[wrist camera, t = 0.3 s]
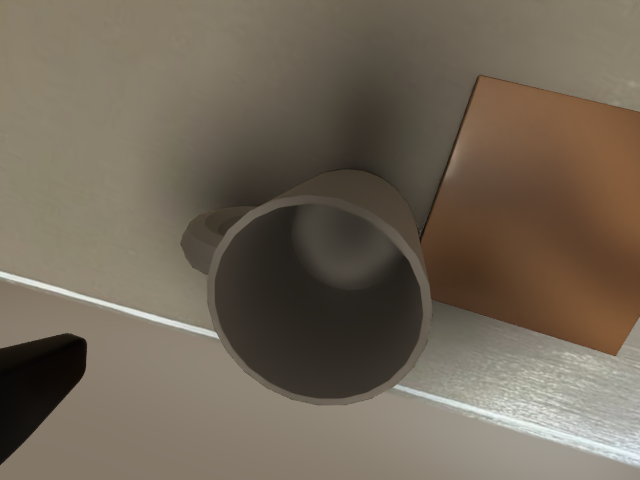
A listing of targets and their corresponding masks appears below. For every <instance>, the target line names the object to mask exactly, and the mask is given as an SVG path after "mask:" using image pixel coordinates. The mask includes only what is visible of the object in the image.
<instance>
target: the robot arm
mask: <svg viewBox="0 0 640 480" xmlns="http://www.w3.org/2000/svg"><path fill="white" fill-rule="evenodd" d="M86 355H87V343H86V340H85V339H84V338H81V337H78V336H75V335H73V334H69V333H65V334H61V335H56V336H52V337H48V338H44V339H40V340H35V341H31V342H27V343H22V344H19V345H14V346H10V347H5V348H1V349H0V465H1V464H2V463H3V462H4V461H5V460H6V459H7V458H8V457H9V456H10V455H11V454H12V453H13V452H15V451H16V449H18V448H19V446H21V445H22V443H24V442H25V440H26V439H27V438H28V437H29V436H30V435H31V434H32V433H33V432H34V431H35V430H36V429H37V428H38V426H39V425H40V424H41V423H42V422H43V421H44V420H45V419H46V417H48V415H49V414H50V413H51V412H52V411H53V410H54V409H55V408H56V407H57V405H58V404H59V403H60V402H61V401H62V400H63V399H64V398H65V397H66V395H67V394H68V393H69V392H70V391H71V390H72V389H73V388H74V387H75V386H76V384H77V383H78V382H79V381H80V380H81V378H82V376H83V375H84V372H85V369H86Z"/></svg>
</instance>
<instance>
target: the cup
mask: <svg viewBox="0 0 640 480" xmlns="http://www.w3.org/2000/svg"><path fill="white" fill-rule="evenodd" d="M180 244H181V247H182V249H183V252H184V254H185V257H186V259H187V260H188V261H189V263H190V264H191V266H192V267H193V268H195V269H197V270H199V271H200V272H202V273H204V274H206V275H208V277H207V297H208V307H209V311H210V314H211V318H212V322H213V326H214V329H215V331H216V333H217V334H218V336H219V338H220V340H221V342H222V344H223V345H224V347H225V349H226V351H227V352H228V353H229V355H230V356H231V357H232V358H233V359H234V360H235V361H236V363H237V364H238V365H239V366H240V367H241V368H242V369H243V371H244V372H246V373H247V374H248V375H249V376H251V377H252V378H254V379H255V380H256V381H258V382H259V383H260V384H262V385H263V386H265V387H266V388H267V389H270V390H272V391H274V392H276V393H278V394H281V395H283V396H285V397H287V398H289V399H292V400H296V401H301V402H306V403H310V404H315V405H348V404H352V403H356V402H359V401H364V400H368V399H371V398H373V397H375V396H377V395H379V394H381V393H383V392H385V391H386V390H388V389H390V388H392V387H394V386H395V385H396V384H397V383H398V382H399V381H400V380H401V379H402V378H403V377H404V376H405V375H406V374H407V373H408V372H409V371H411V370H412V369H413V368H414V366H415V364H416V362H417V361H418V359H419V357H420V355H421V353H422V352H423V350H424V348H425V346H426V344H427V341H428V336H429V331H430V326H431V321H432V316H433V314H432V305H431V295H430V286H429V281H428V276H427V272H426V267H425V262H424V258H423V253H422V248H421V244H420V239H419V235H418V230H417V225H416V222H415V219H414V217H413V214H412V212H411V210H410V207H409V205H408V203H407V202H406V201H405V199H404V198H403V197H402V196H401V194H400V193H399V192H398V190H397V189H396V188H394V187H393V186H392V185H390V184H389V183H388V182H386V181H385V180H384V179H382V178H381V177H378V176H375V175H373V174H370V173H368V172H365V171H359V170H350V169H343V170H337V171H331V172H325V173H323V174H321V175H319V176H316V177H314V178H312V179H310V180H308V181H306V182H304V183H302V184H300V185H298V186H296V187H295V188H293V189H291V190H289V191H287V192H285V193H283V194H281V195H279V196H277V197H276V198H274V199H272V200H270V201H268V202H266V203H264V204H262V205H260V206H258V207H254V206H238V207H229V208H222V209H217V210H213V211H209V212H207V213H204V214H202V215H199V216H198V217H196V218H195V219H194V220H193V221H191V222H190V224H189V225H188V227H187V229H186V230H185V232H184V234H183V236H182V240H181V243H180Z"/></svg>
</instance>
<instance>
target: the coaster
mask: <svg viewBox="0 0 640 480" xmlns="http://www.w3.org/2000/svg"><path fill="white" fill-rule="evenodd" d="M420 244H421V248H422V253H423V258H424V262H425V267H426V272H427V276H428V281H429V286H430V295H431V299H433V300H436V301H439V302H442V303H446V304H449V305H452V306H455V307H459V308H462V309H465V310H468V311H472V312H475V313H478V314H481V315H484V316H488V317H491V318H494V319H497V320H501V321H504V322H507V323H510V324H513V325H517V326H520V327H523V328H526V329H530V330H533V331H536V332H539V333H543V334H546V335H549V336H552V337H555V338H559V339H562V340H565V341H568V342H572V343H575V344H578V345H581V346H585V347H588V348H591V349H594V350H597V351H601V352H604V353H607V354H610V355H614V356H616V355H617V353H618V351H619V350H620V348H621V346H622V345H623V343H624V341H625V340H626V338H627V337H628V335H629V333H630V332H631V330H632V328H633V327H634V325H635V323H636V322H637V320H638V318H639V317H640V112H637V111H633V110H629V109H624V108H620V107H616V106H611V105H607V104H603V103H599V102H594V101H590V100H586V99H581V98H577V97H573V96H569V95H564V94H560V93H556V92H551V91H547V90H543V89H539V88H534V87H530V86H526V85H521V84H517V83H513V82H509V81H504V80H500V79H496V78H492V77H487V76H483V75H480V76H478V79H477V81H476V84H475V87H474V90H473V93H472V96H471V98H470V101H469V104H468V107H467V110H466V112H465V115H464V118H463V121H462V124H461V127H460V129H459V132H458V135H457V138H456V141H455V143H454V146H453V149H452V152H451V155H450V158H449V160H448V163H447V166H446V169H445V172H444V174H443V177H442V180H441V183H440V186H439V189H438V191H437V194H436V197H435V200H434V203H433V205H432V208H431V211H430V214H429V217H428V220H427V222H426V225H425V228H424V231H423V234H422V236H421V239H420Z"/></svg>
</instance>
